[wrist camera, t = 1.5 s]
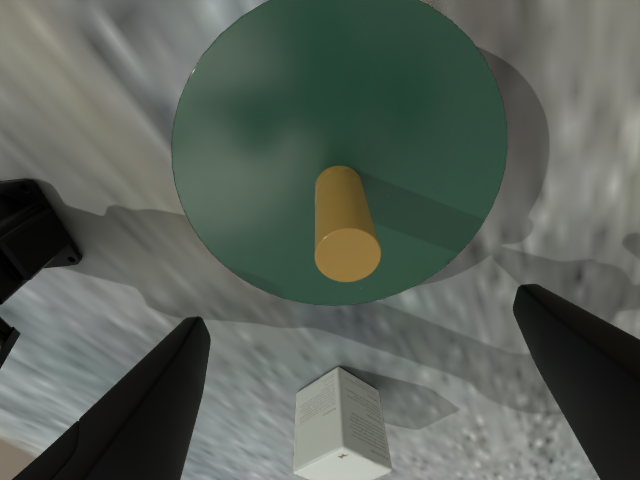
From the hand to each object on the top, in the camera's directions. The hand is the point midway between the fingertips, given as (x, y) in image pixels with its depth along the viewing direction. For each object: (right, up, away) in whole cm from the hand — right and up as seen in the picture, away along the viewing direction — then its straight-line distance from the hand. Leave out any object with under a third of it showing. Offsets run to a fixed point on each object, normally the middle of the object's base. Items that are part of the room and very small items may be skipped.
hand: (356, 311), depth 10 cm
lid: (0, +5, +8) cm, 9 cm away
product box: (+1, -13, +24) cm, 28 cm away
